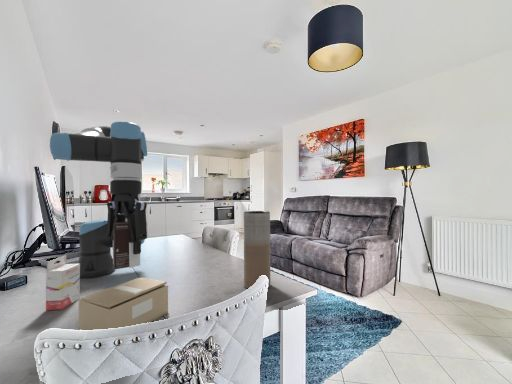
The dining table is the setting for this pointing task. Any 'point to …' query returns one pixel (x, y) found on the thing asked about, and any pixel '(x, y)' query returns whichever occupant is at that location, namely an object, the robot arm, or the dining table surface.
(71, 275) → the ink cartridge box
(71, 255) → the desk tidy frame
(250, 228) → the burlap textured cylinder
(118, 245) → the box
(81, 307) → the carton
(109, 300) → the lid
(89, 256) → the robot arm
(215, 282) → the dining table surface
